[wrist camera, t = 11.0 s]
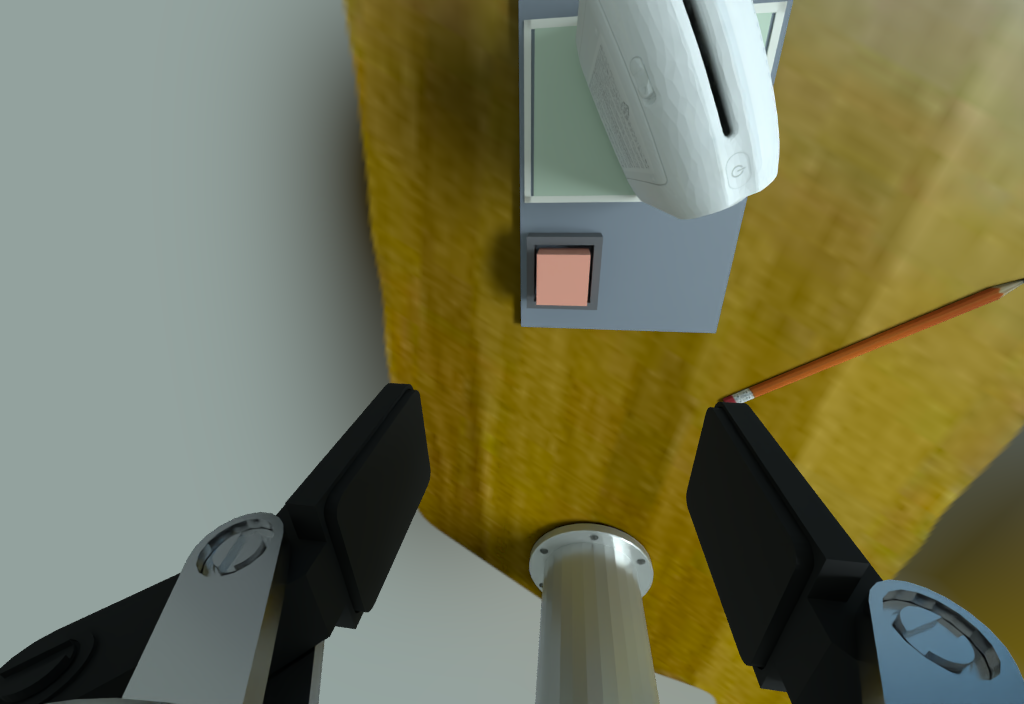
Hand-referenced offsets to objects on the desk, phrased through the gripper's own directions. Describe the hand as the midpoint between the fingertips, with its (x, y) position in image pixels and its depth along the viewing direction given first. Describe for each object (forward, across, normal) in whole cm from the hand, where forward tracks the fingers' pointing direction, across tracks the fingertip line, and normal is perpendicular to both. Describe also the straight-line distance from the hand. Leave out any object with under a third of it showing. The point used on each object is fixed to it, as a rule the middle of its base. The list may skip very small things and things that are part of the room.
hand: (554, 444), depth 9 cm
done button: (+18, 0, 0) cm, 18 cm away
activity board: (+20, -4, -6) cm, 21 cm away
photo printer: (+19, -4, -9) cm, 22 cm away
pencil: (+20, -21, +5) cm, 30 cm away
